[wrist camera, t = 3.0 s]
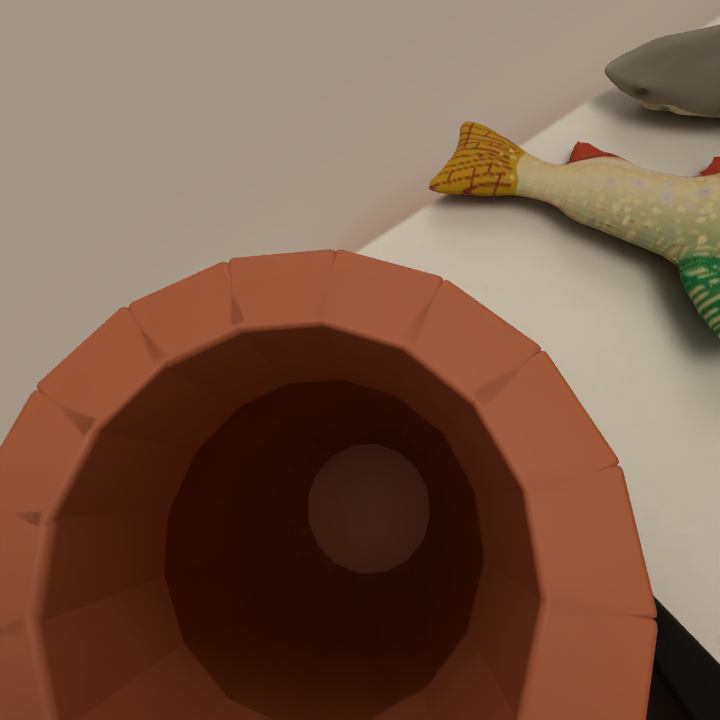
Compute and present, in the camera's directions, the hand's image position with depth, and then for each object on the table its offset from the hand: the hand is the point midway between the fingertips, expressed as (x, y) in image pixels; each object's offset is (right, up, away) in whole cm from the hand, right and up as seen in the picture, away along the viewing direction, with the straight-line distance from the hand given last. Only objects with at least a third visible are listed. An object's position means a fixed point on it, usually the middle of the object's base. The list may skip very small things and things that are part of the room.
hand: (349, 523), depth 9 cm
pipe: (+1, -2, +8) cm, 8 cm away
